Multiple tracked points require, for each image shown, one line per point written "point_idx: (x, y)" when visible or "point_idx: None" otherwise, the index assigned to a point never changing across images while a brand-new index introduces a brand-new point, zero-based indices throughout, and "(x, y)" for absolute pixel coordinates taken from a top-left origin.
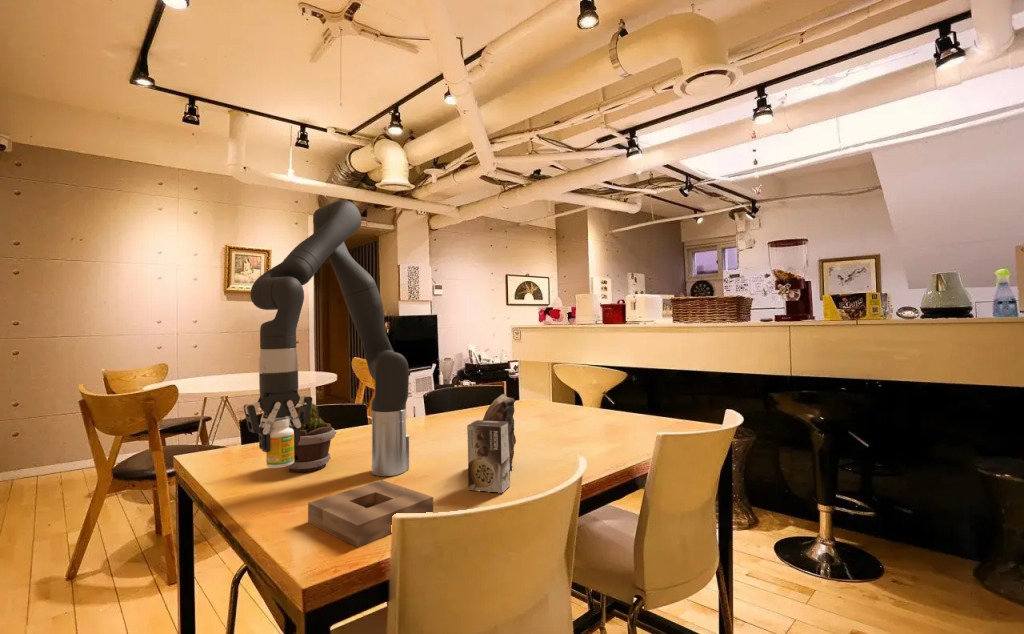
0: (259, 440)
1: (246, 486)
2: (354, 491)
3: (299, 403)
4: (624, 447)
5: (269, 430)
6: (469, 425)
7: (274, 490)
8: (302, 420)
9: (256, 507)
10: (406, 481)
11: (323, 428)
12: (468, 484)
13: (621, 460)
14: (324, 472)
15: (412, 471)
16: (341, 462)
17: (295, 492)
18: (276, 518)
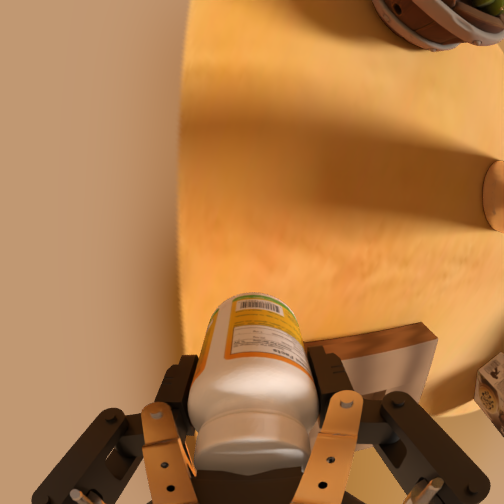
0: (160, 392)
1: (260, 17)
2: (370, 367)
3: (411, 501)
4: None
5: (200, 417)
6: None
7: (302, 90)
8: (374, 439)
9: (227, 181)
10: (485, 275)
11: (497, 27)
12: (482, 374)
13: None
14: (430, 72)
15: None
16: (468, 51)
17: (335, 147)
18: (238, 285)
